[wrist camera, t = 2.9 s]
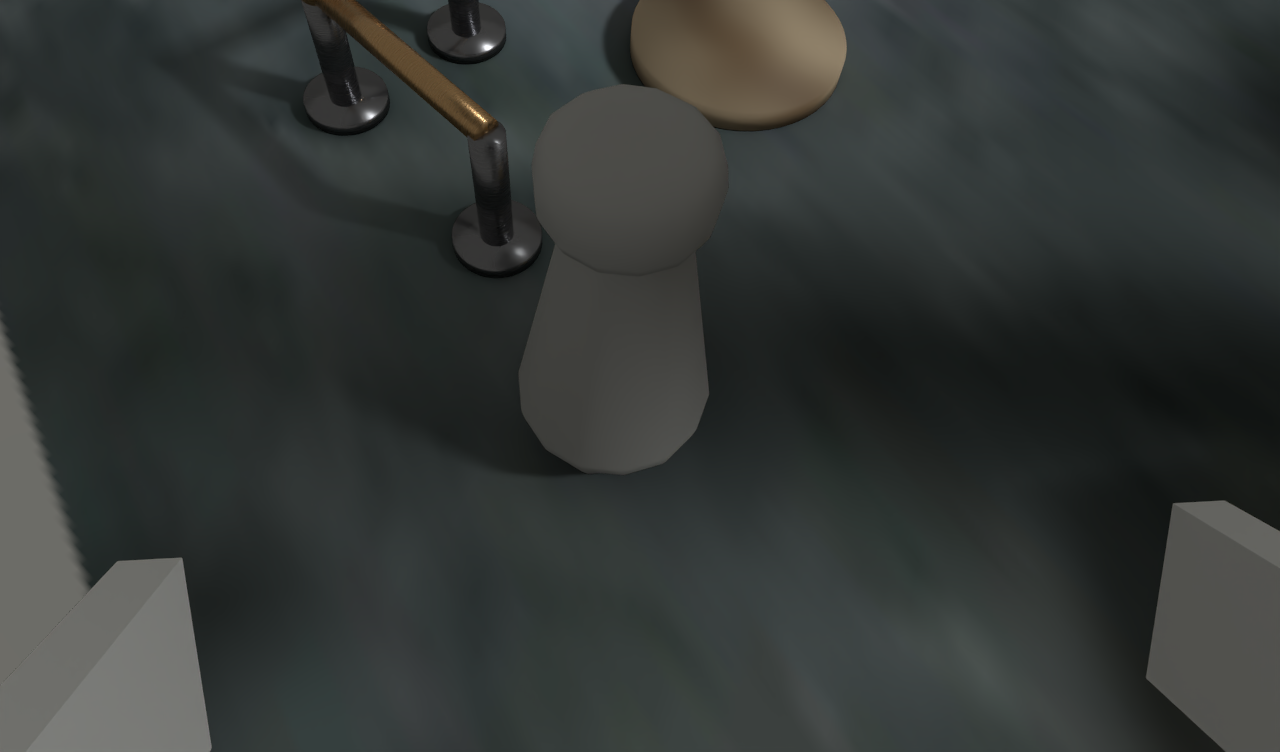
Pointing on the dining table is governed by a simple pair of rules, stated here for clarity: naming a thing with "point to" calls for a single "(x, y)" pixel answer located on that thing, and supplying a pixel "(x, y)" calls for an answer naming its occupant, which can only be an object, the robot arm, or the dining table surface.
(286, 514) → the dining table surface
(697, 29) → the coaster
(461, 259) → the rail
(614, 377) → the salt shaker
